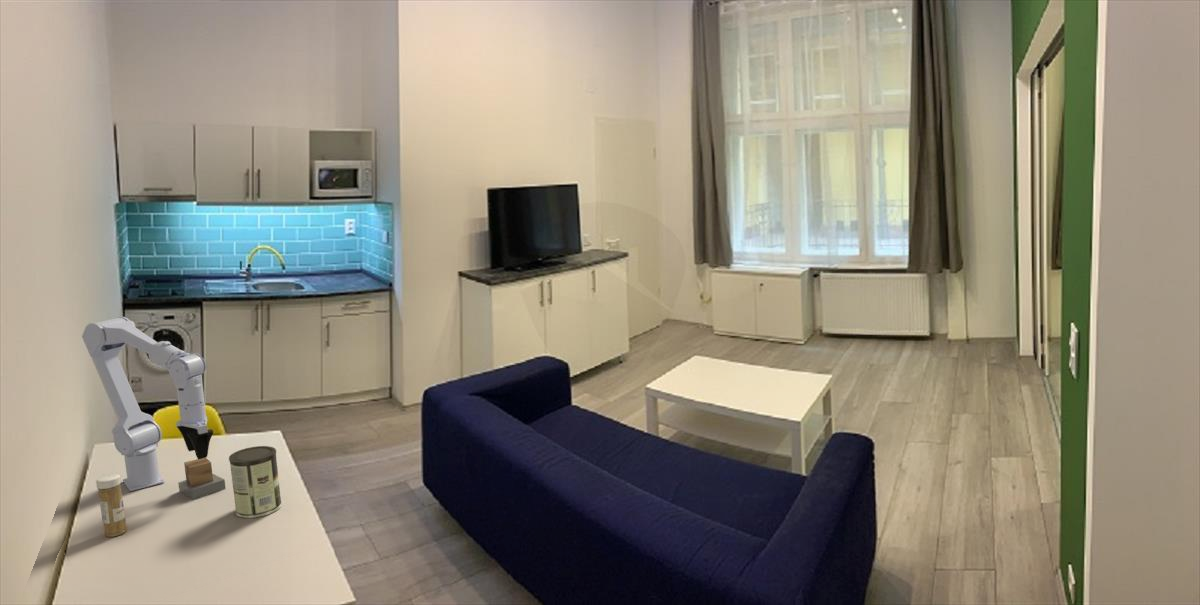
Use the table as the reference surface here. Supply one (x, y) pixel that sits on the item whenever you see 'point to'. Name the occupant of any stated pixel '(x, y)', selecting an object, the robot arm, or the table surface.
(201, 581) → the table surface
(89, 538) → the table surface
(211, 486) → the slate slab
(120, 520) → the sprinkles bottle
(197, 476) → the walnut cube
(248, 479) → the coffee can
